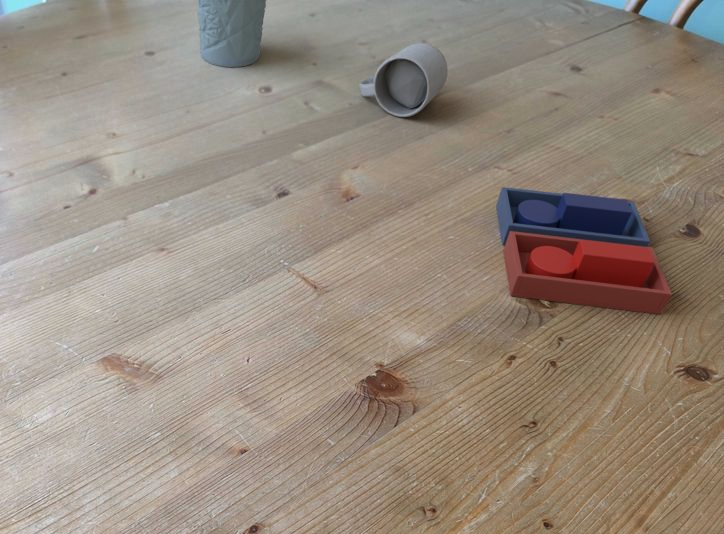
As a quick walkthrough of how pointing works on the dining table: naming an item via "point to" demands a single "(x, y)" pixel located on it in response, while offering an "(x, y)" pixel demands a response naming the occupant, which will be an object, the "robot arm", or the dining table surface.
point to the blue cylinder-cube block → (577, 214)
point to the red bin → (579, 291)
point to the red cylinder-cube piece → (594, 263)
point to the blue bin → (507, 212)
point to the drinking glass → (230, 31)
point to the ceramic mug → (407, 80)
